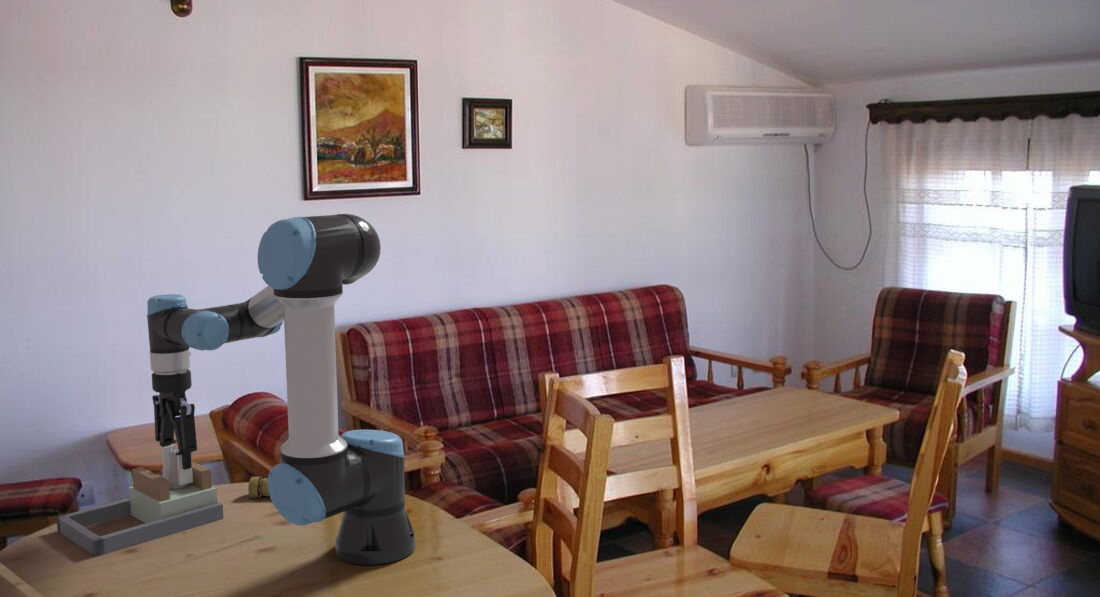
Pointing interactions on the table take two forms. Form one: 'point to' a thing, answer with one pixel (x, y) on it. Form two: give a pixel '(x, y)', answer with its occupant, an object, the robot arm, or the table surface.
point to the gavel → (258, 487)
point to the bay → (100, 545)
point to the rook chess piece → (174, 471)
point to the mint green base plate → (169, 494)
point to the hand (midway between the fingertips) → (178, 479)
